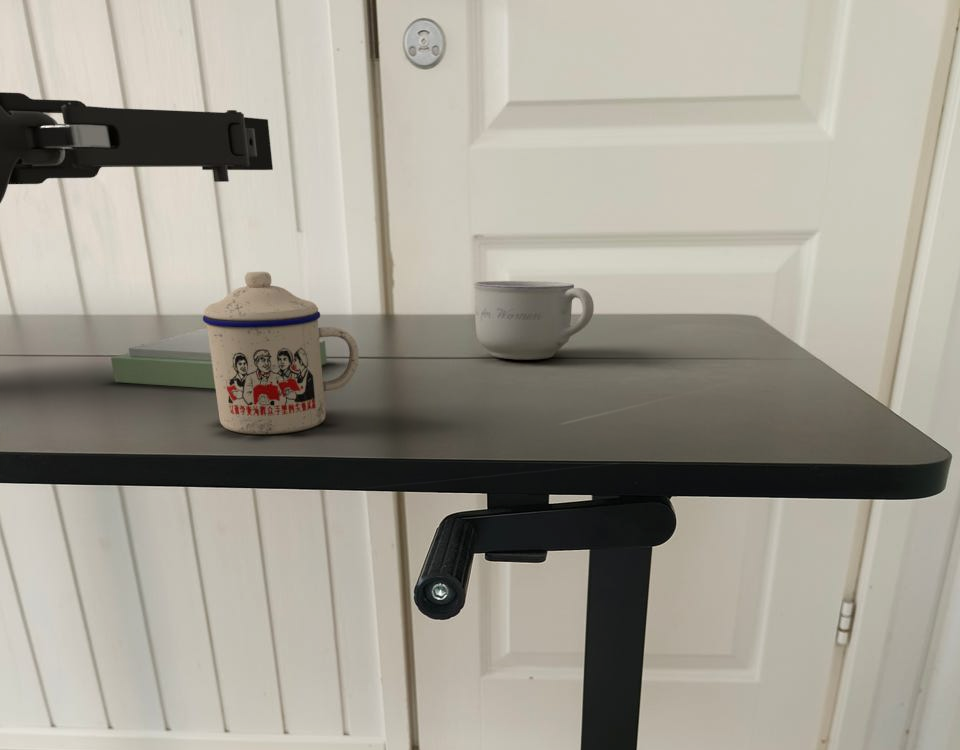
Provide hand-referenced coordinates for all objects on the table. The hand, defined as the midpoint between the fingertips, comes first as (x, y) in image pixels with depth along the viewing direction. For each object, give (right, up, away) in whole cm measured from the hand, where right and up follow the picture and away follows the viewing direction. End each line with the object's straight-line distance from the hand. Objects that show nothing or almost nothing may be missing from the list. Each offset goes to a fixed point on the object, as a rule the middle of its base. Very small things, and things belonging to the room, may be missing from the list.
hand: (170, 147), depth 58 cm
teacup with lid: (+4, -13, +19) cm, 23 cm away
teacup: (+25, 0, +44) cm, 50 cm away
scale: (-7, -3, +38) cm, 39 cm away
